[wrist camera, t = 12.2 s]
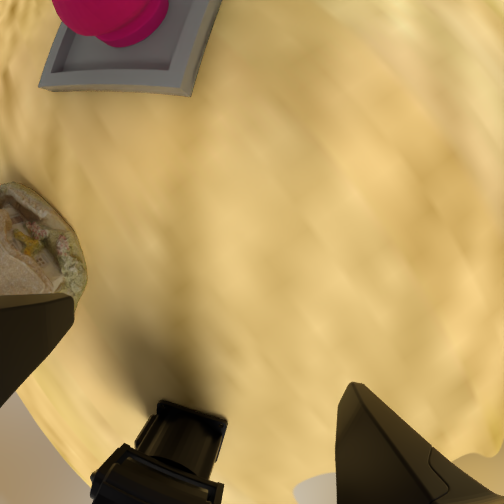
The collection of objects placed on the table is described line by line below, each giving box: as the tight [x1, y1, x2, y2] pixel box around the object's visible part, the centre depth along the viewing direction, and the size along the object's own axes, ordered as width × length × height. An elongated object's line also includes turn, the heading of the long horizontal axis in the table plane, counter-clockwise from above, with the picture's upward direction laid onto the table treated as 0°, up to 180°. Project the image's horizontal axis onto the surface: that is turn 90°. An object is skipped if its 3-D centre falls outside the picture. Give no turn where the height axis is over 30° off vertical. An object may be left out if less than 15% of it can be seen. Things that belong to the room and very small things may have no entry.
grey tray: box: [38, 0, 222, 97], centre depth 17 cm, size 14×14×2 cm
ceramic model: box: [0, 182, 87, 312], centre depth 19 cm, size 14×11×10 cm
